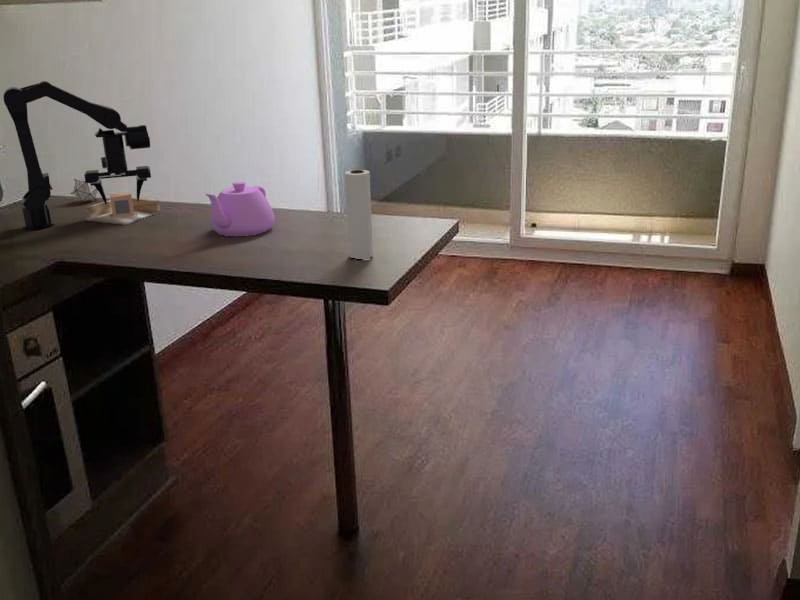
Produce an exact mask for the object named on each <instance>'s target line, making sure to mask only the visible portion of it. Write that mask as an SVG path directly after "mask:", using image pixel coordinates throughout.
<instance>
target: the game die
mask: <svg viewBox="0 0 800 600" xmlns="http://www.w3.org/2000/svg"><path fill="white" fill-rule="evenodd" d="M73 180H74V181H75V182H74V188H73V192H70V195H74V196H76V198H78V200H79V201H80V204H83V202H86V201H87V202H88V201H92V200H95V202H97V201H98V200H97V199H96V197H97V193H98V190H97V189H96V187H95V186H91V184H90V183H85V178H83V179H76V178H73Z"/></svg>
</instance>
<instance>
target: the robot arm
mask: <svg viewBox="0 0 800 600" xmlns="http://www.w3.org/2000/svg"><path fill="white" fill-rule="evenodd" d="M2 96H3V103H4V104H5V107H6V109H7V111H8V113H9V115H10V117H11V119H12V121H13V123H14V127H15V131H16V135H17V138H18V142H19V144H20V150H21V152H22V156H23V161H24V163H25V168H26V173H27V174H26V175H27V176H26V179H27V188H28V190H27V192H26V193H25V194H24V195H23V197H22V198H21V199H22V205H23V207H22V208H21V209H22V214H23V220H24V225H22V226H21V227H22V229H27V230H35V231H38V230H43V229H44V228H45V229H46V228H48V227H52V226H54V225H55V223H54V222H52V218H51V213H50V208H49V207H48V204H47V203H46V201H48V200H49V199H50V197H51V194H52V193H51V191H52V190H53V186H52V184H51V183H50V176H49V175H50V174H49V172H45V173H43V170H42V168H41V165H40V163H39V158H38V155H37V152H36V150H37V149H36V147H35V143H34V140H33V136H32V133H31V128H30V125H29V119H28V116H29V115H28V103H31V102H34V101H36V100H40V99H42V98H44V97H47V98H48V99H52V100H54V101H56V102H58V103H60V104H63V105H65V106H67V107H69V108H71V109H72V110H76V111H77V112H80V113H82V114H84V115H86V116H88V117H89V118H90V119H92V120H94V121H95V122H96V123H98V124H100V125H101V126H103V127H104V128H106V129H107V130H103V129H102V128H101V127H100V128H98V130H97V131H96V132H95V133H94V136H95V137H96V139H97V138H102V139H101V140H102V145H103V151H104V156H103V157H102V156H101V158H100V160H101V167H102V169H106V171H107V172H106V171H102V172H99V169H91V170H86V171H85V172H84V175H83V176H84V179H85V183H90V184H91V186H95V187H96V189H97V192H99V194H100V197H101V199H102V201H103V202H105V204H107V201H108V200H107V196H106V193H105V191H104V190H105V189H104V186H103V183H102V182H103V181H102V180H103V179H113V178H125V177H127V178H128V177H136V198H137V201H139V198H140V196H141V191H142V187H143V185H144V182H146V181H148V179H150V178H152V173H151V168H150V167H149V165H141V166H136V167H135V168H136V169H128V163H127V159H126V152H125V151H126V150H125V147H129V150H141V149H149V148H151V140H150V139H151V138H150V136H149V133H148V130H147V129H148V128H147V125H146V124H139V125H137V126H127V124H126V123H124V122H123V121H122V118H121V115H120V113H119V112H118V111H117V110H116V109H114V108H112V107H109V106H107V105H104V104H103V105H102V104H100V103H99V104H98V103H96V102H95V103H94V102H91V101H88V100H86V99H84V98H82V97H79V96H77V95H75V94H74V93H71V92H68V91H66V90H64V89H62V88H61V87H58V86H56V85H53V84H52V83H51V82H49V81H47V80H41V81H40V82H38V83H35V84H32V85H31V84H30V85H27V86H23V87H20V88H19V87H15V86H13V87H8V88H7V89H6V90H5V91H4V92H3V95H2ZM114 129H116V130H117V131H120V132H115V131H114ZM123 136H124V139H123ZM124 142H125V143H124Z"/></svg>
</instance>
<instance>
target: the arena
mask: <svg viewBox="0 0 800 600" xmlns="http://www.w3.org/2000/svg"><path fill="white" fill-rule="evenodd" d="M132 204H133V211H134V216H125V217H115V218H113V213H112V206H111V200H110V199H109V200H107V204H105V202H104V201H102V202H98V203H95V204H92V205H87V206H85V207H84V213H85V218H86V221H89V222H96V223H97V222H98V223H105V224H115V225H124V226H126V225H128V224H131V223H134V222H138V221H141V220H143V218H144V219H146V217H147V218H150V217H153V216H156V215H159V214H161V207H160V201H159V200H158V199H148V198H140V197H139V201H137V197H132ZM152 215H153V216H152ZM149 216H150V217H149ZM140 219H141V220H140ZM137 220H138V221H137Z"/></svg>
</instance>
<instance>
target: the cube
mask: <svg viewBox="0 0 800 600" xmlns="http://www.w3.org/2000/svg"><path fill="white" fill-rule="evenodd" d="M109 195H110V196H109V200H111V206H112V213H113V218H115V217H125V216H134V211H133V204H132V198H133V197H132V193H131V191H130V192H119V193H111V194H109Z"/></svg>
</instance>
